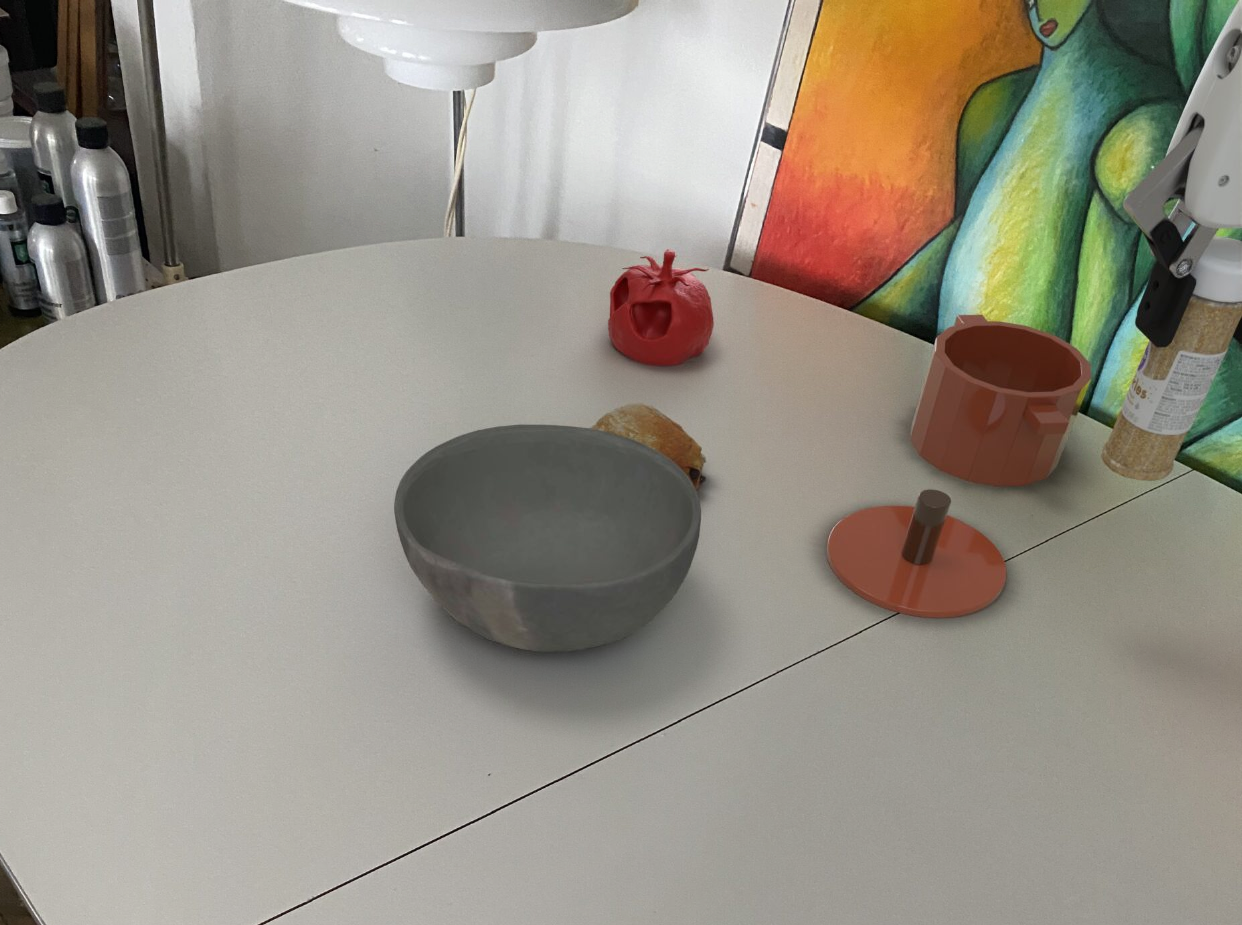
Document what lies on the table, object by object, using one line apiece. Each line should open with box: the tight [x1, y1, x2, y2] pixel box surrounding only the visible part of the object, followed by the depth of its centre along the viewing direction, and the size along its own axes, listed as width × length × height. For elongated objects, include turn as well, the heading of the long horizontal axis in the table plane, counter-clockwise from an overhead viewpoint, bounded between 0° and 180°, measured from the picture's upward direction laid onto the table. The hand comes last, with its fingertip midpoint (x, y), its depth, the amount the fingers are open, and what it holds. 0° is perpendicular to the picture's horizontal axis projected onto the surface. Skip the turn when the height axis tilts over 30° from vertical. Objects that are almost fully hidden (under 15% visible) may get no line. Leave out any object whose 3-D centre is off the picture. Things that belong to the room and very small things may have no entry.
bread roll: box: [589, 402, 707, 492], centre depth 96 cm, size 10×10×8 cm
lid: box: [825, 489, 1007, 619], centre depth 90 cm, size 14×14×6 cm
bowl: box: [393, 424, 702, 653], centre depth 82 cm, size 20×20×10 cm
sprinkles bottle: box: [1100, 235, 1242, 482], centre depth 73 cm, size 5×5×13 cm
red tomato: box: [607, 248, 715, 367], centre depth 109 cm, size 10×10×9 cm
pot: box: [909, 314, 1093, 488], centre depth 102 cm, size 13×18×8 cm
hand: (1193, 331), depth 71 cm, fingers closed on sprinkles bottle, 4 cm apart
